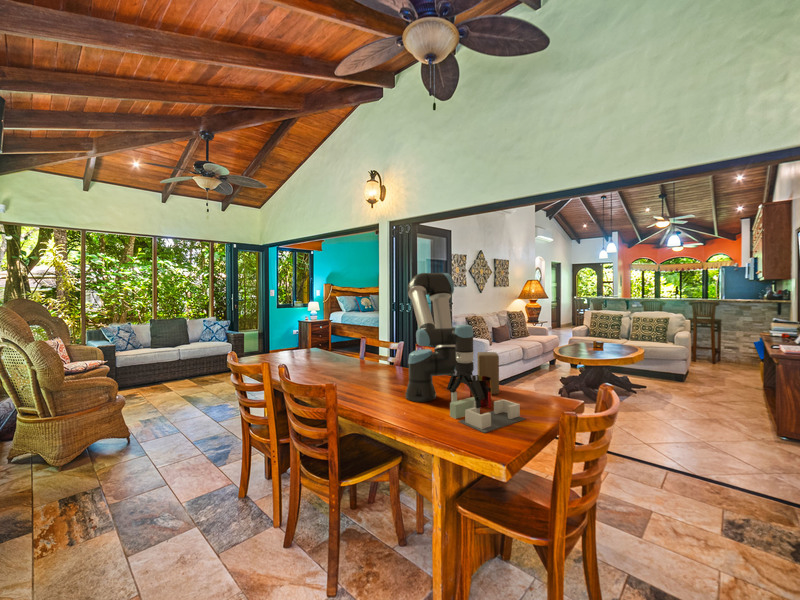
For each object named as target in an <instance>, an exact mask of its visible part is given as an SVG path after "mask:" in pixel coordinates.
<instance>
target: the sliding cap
mask: <svg viewBox="0 0 800 600" xmlns="http://www.w3.org/2000/svg"><path fill="white" fill-rule="evenodd" d="M520 406H521V404H520V403H516V402H514V401H512V400H511V401H510V400H507V399H503V398H501V399H498V400H495V401H493V411H494V413H495V414H498V413H502V412H505V413H508V418H509V419H513V418H516V417H519V416H520V417H521V414H520V409H521V408H520Z"/></svg>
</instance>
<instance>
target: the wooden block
mask: <svg viewBox="0 0 800 600" xmlns="http://www.w3.org/2000/svg"><path fill="white" fill-rule="evenodd" d="M477 375H478V376H487V377H490V378H491V395H498V394H499V393H500V357H499V354H498V353H497V352H494V351H493V352H492V351H489V352H488V351H486V352H485V351H479V352H477Z"/></svg>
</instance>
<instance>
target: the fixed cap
mask: <svg viewBox="0 0 800 600" xmlns="http://www.w3.org/2000/svg"><path fill="white" fill-rule="evenodd" d="M489 412H490V411H488V413H487V412H484V413H480V414H478V413H477V408H475V407H474V408H470V409H466V410H465V416H464V419H465V422H466V423H468V424H471V425H473V426H475V427H478V428H480V429H484V428H487V427H490V426H491V413H489Z"/></svg>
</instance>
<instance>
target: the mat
mask: <svg viewBox="0 0 800 600" xmlns="http://www.w3.org/2000/svg"><path fill="white" fill-rule="evenodd" d="M488 412H489V413H491V426H490V427H487V428H484V429H480V428H478V427H475V426H473V425H471V424H468V423H466V422H465V418H464V419H460V420H458V421H457V422H458V423H460V424H462V425H464V426H467V427H469V428H471V429H474V430H476V431H479V432H481V433H483V434H486V433H489V432H492V431H495V430H499V429H502V428H504V427H508V426H510V425H511V426H512V425H514V424H517V423H519V422H521V421H525V420H526V418H525V417H522V416H521V415H520V416H519V417H516V418H513V419H509V418H508V413H505V412H502V413H498V414H495V413H494V410H492V411H488ZM488 412H486V413H488Z"/></svg>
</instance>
